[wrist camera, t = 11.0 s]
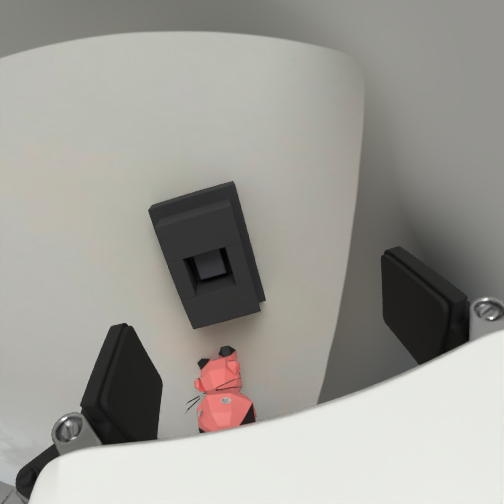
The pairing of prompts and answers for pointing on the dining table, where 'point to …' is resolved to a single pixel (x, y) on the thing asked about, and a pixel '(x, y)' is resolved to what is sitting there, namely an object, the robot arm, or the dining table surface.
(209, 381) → the cat figurine
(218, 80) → the dining table surface
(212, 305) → the black socket block
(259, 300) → the base pad
